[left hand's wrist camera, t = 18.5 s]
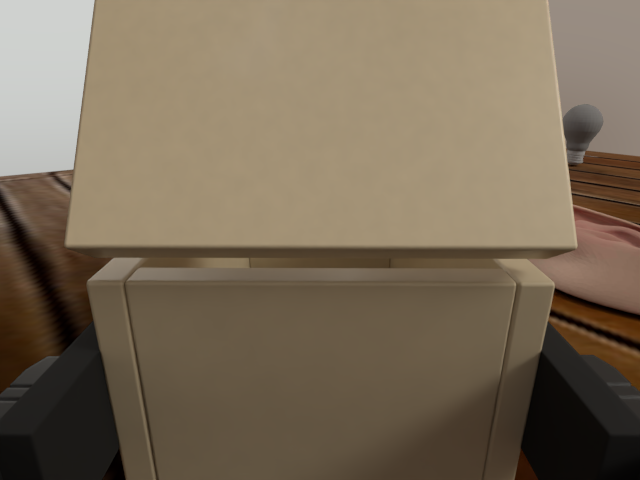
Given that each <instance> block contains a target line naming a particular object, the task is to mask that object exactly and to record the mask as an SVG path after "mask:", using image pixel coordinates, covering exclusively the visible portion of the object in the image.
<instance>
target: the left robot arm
mask: <svg viewBox="0 0 640 480" xmlns="http://www.w3.org/2000/svg"><path fill="white" fill-rule="evenodd" d="M118 449H119V443H118V438H117V433H116V428H115V423H114V419H113V414H112V409H111V404H110V399H109V394H108V389H107V384H106V379H105V374H104V369H103V364H102V359H101V354H100V350H99V345H98V340H97V335H96V330H95V325H94V320H93V321H92V323H91V324H90V325H89V326H88V327H87V328H86V329H85V330H84V331H83V332H82V333H81V334H80V335H79V336H78V337H77V338H76V339H75V340H74V342H73V343H72V344H71V345H70V346H69V347H68V348H67V349H66V350H65V351H64V352H63V353H62V354H61V355H60V356H47V357H46V358H44V359H42V360H41V361H39V362H37V363H36V364H34V365H32V366H31V367H29V368H27V369H26V370H25V371H24V372H23V373H22V374H21V375H20V376H19V377H18V378H17V379H16V380H15V381H14V382H12V383H11V384H10V388H6V389H5V390H4V391H3V392H2V393H1V394H0V480H102V479H103V477H104V475H105V473H106V471H107V470H108V468H109V466H110V464H111V462H112V460H113V459H114V457H115V455H116V453H117V451H118ZM521 449H522V450H523V452H524V454H525V456H526V458H527V459H528V461H529V463H530V465H531V467H532V469H533V470H534V472H535V474H536V476H537V478H538V480H640V392H639V391H638V390H637V389H636V388H635V387H634V386H631V383H630V382H629V381H628V380H627V379H626V378H625V377H624V376H623V375H622V374H621V373H620V372H619V371H618V370H617V369H616V368H614V367H613V366H611V365H609V364H608V363H606V362H604V361H603V360H601V359H599V358H598V357H596V356H594V355H579V354H578V353H577V352H576V350H575V349H574V348H573V347H572V346H571V345H570V344H569V343H568V342H567V341H566V340H565V339H564V338H563V337H562V336H561V335H560V334H559V333H558V331H557V330H556V329H555V328H554V327H553V326H552V325H551V324H550V323H549V322H547V327H546V331H545V336H544V341H543V346H542V350H541V354H540V358H539V363H538V368H537V373H536V378H535V382H534V387H533V392H532V397H531V402H530V407H529V411H528V416H527V421H526V426H525V431H524V435H523V440H522V445H521Z"/></svg>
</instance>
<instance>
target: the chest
mask: <svg viewBox="0 0 640 480" xmlns="http://www.w3.org/2000/svg"><path fill="white" fill-rule="evenodd" d="M554 289H555V284H554V282H553V281H552V280H551V279H550V278H548V277H547V276H546V275H545V274H544V273H543V272H541V271H540V270H539V269H538V268H537V267H536V266H535V265H533V264H532V263H531V262H530V261H529V260H528V259H374V258H113V259H112V260H111V261H110V262H109V263H108V264H107V265H105V266H104V267H103V268H102V269H101V270H100V271H99V272H97V273H96V274H95V275H94V276H93V277H92V278H90V279H89V280H88V281H87V290H88V295H89V300H90V305H91V310H92V315H93V320H94V325H95V330H96V335H97V340H98V345H99V350H100V354H101V359H102V364H103V369H104V374H105V379H106V384H107V389H108V394H109V399H110V404H111V409H112V414H113V419H114V423H115V428H116V433H117V438H118V443H119V448H120V453H121V458H122V463H123V468H124V473H125V478H126V480H514V478H515V473H516V469H517V464H518V459H519V454H520V450H521V445H522V440H523V435H524V431H525V426H526V421H527V416H528V411H529V407H530V402H531V397H532V392H533V387H534V382H535V378H536V373H537V368H538V363H539V358H540V354H541V350H542V346H543V341H544V336H545V331H546V327H547V322H548V317H549V313H550V308H551V303H552V298H553V294H554Z"/></svg>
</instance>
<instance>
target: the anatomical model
mask: <svg viewBox="0 0 640 480" xmlns="http://www.w3.org/2000/svg"><path fill="white" fill-rule="evenodd" d="M573 212H574V220H575V228H576V237H577V249H576V250H574V251H571V252H568V253H564V254H561V255H558V256H555V257H552V258H549V259H528V260H529V261H530V262H531V263H532V264H533V265H535V266H536V267H537V268H538V269H539V270H540V271H541V272H543V273H544V274H545V275H546V276H547V277H548V278H550V279H551V280H552V281H553V282H554V284H555V288H556V289H558V290H561V291H563V292H565V293H567V294H570V295H572V296H575V297H578V298H581V299H584V300H587V301H589V302H593V303H596V304H599V305H603V306H606V307H610V308H614V309H618V310H621V311H625V312H629V313H633V314H637V315H640V226H639V225H636V224H634V223H631V222H628V221H625V220H622V219H619V218H616V217H612V216H609V215H606V214H603V213H599V212H596V211H593V210H590V209H586V208H583V207H579V206H576V205H573Z"/></svg>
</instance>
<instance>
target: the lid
mask: <svg viewBox="0 0 640 480" xmlns="http://www.w3.org/2000/svg"><path fill="white" fill-rule="evenodd" d="M64 245H65V247H66V248H67V249H70V250H73V251H76V252H79V253H82V254H85V255H88V256H91V257H94V258H374V259H549V258H552V257H555V256H558V255H561V254H564V253H568V252H571V251H574V250H576V249H577V237H576V228H575V220H574V212H573V204H572V195H571V187H570V179H569V170H568V162H567V154H566V146H565V137H564V129H563V121H562V113H561V104H560V96H559V88H558V79H557V71H556V63H555V54H554V46H553V38H552V30H551V21H550V13H549V5H548V0H95V3H94V11H93V19H92V27H91V35H90V43H89V51H88V59H87V67H86V75H85V83H84V91H83V98H82V107H81V114H80V123H79V130H78V138H77V147H76V154H75V162H74V170H73V178H72V186H71V194H70V202H69V210H68V218H67V226H66V234H65V242H64Z"/></svg>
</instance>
